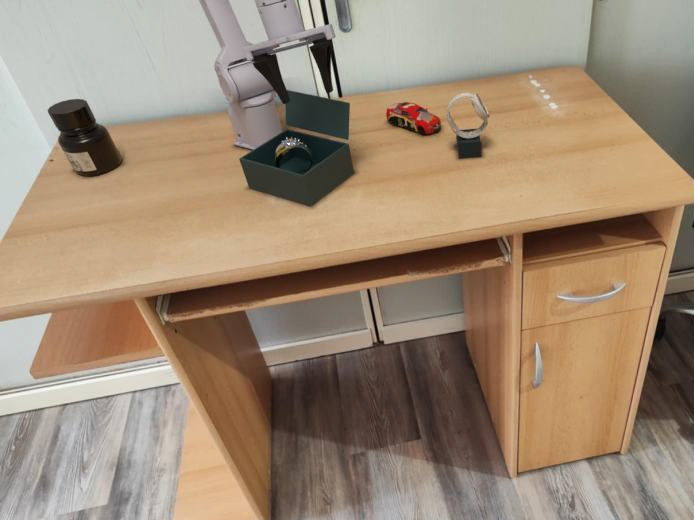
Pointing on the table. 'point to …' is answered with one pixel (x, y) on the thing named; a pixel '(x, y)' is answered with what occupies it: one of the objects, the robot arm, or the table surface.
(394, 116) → the race car
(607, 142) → the table surface
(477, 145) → the watch
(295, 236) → the table surface
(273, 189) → the carton
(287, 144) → the ring
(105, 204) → the table surface
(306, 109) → the flap
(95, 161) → the ink bottle
